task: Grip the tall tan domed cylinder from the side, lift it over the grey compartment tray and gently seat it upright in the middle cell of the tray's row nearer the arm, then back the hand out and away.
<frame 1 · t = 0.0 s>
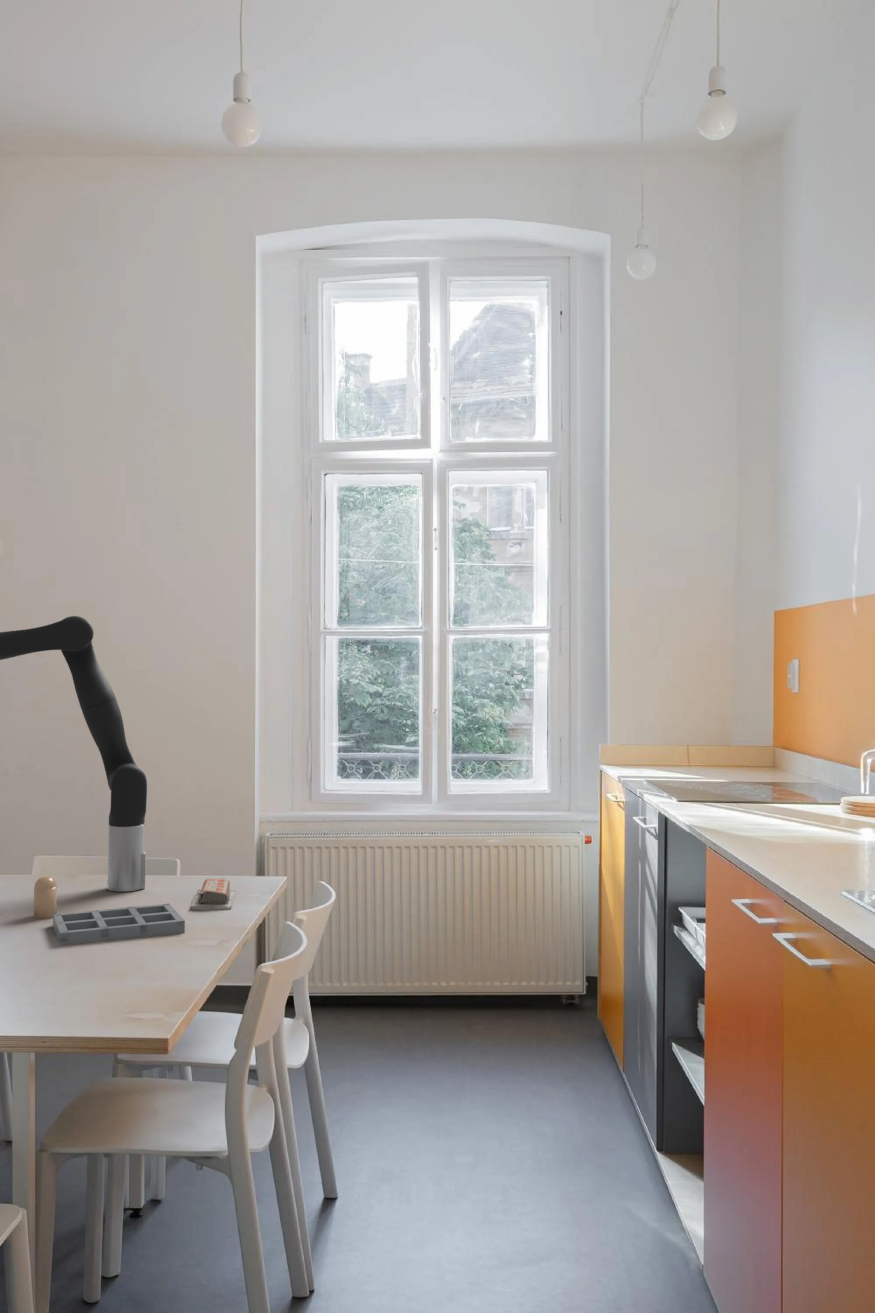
grey compartment tray: (118, 929, 223), on the table
packaged product: (213, 904, 250), on the table
tan domed cylinder: (44, 916, 234), on the table
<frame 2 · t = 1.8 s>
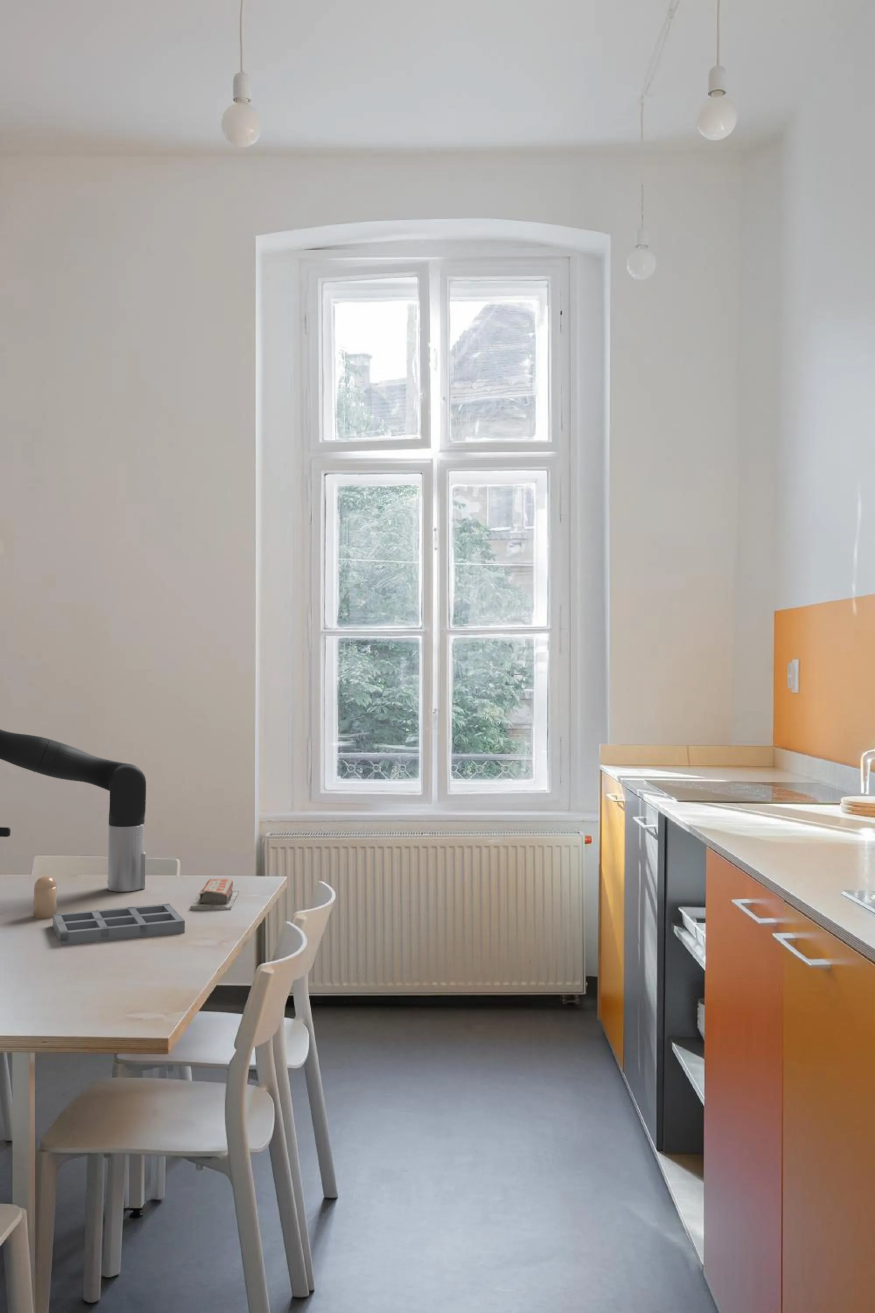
hand: (0, 835, 235), 19 cm above the table, tool horizontal, fingers open, 8 cm apart
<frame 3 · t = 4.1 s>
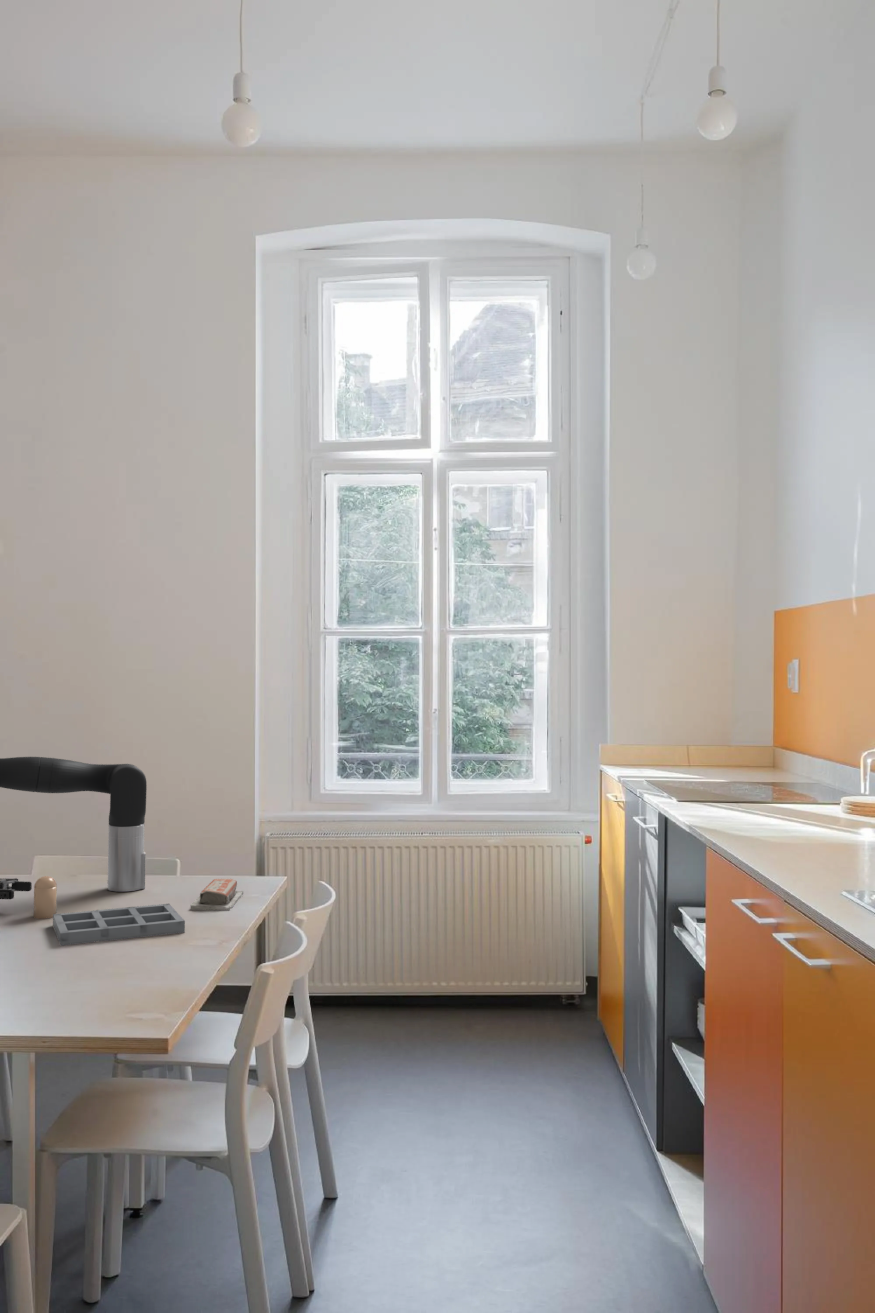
hand: (22, 890, 234), 6 cm above the table, tool horizontal, fingers open, 8 cm apart
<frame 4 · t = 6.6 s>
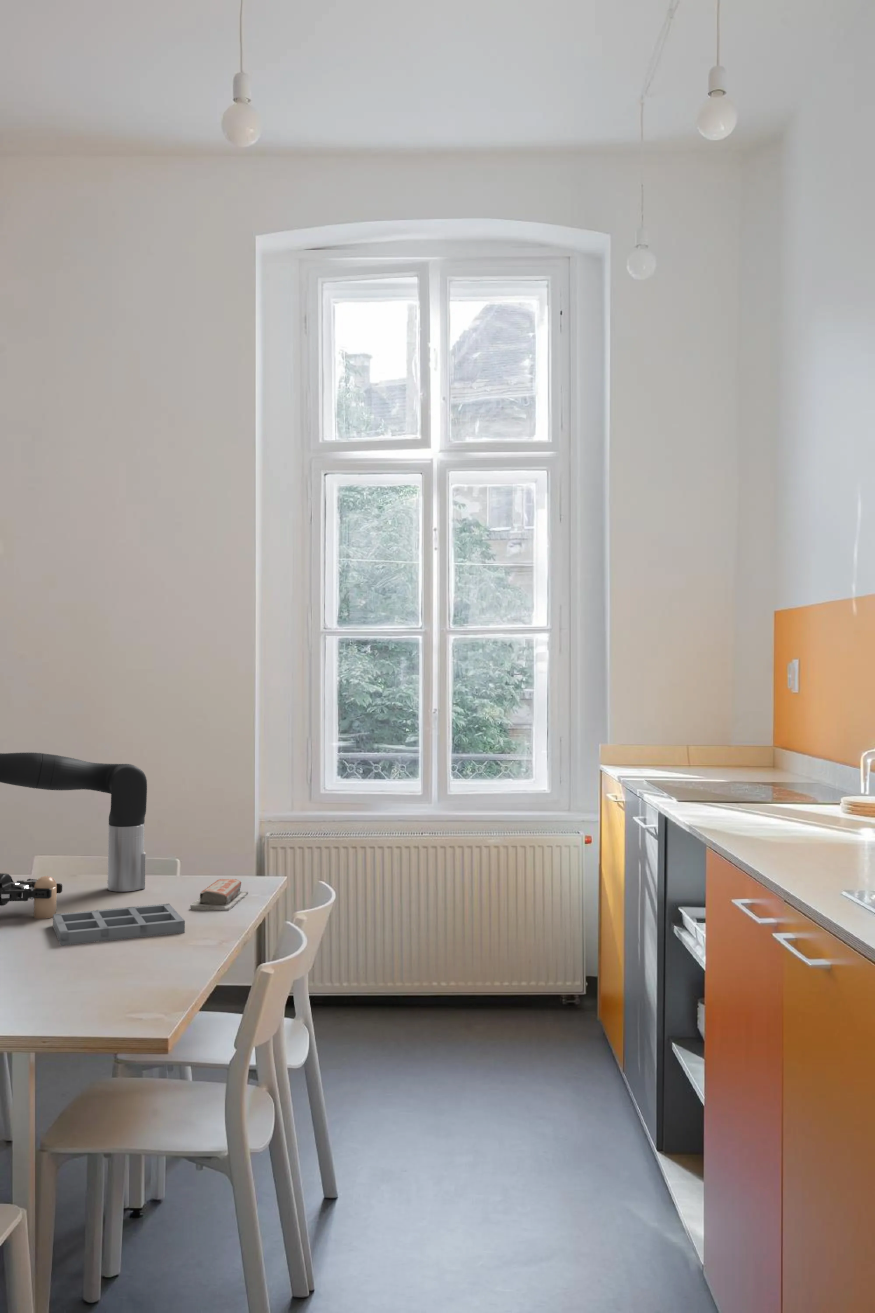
hand: (56, 891, 234), 6 cm above the table, tool horizontal, fingers closed on tan domed cylinder, 5 cm apart
tan domed cylinder: (45, 916, 234), on the table, touching gripper
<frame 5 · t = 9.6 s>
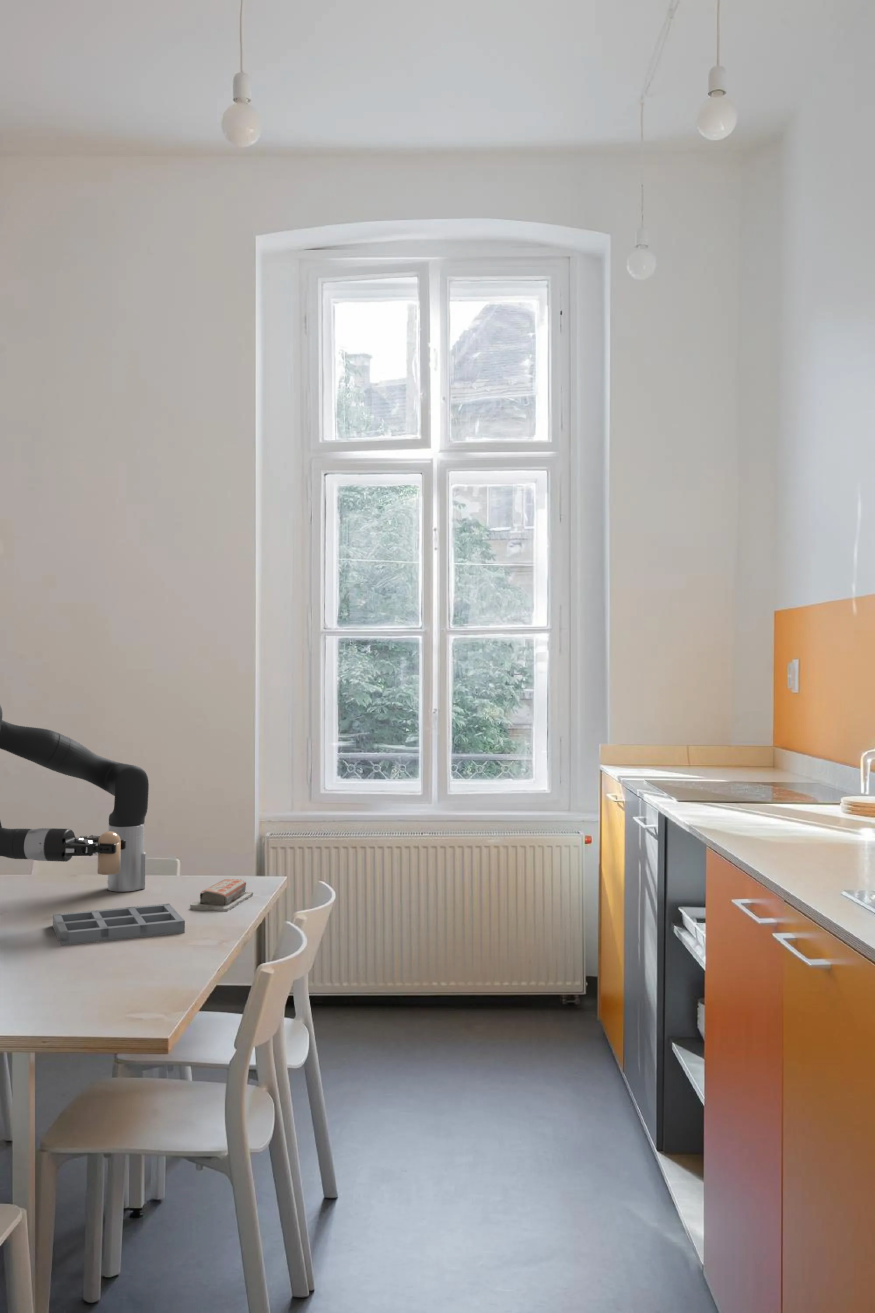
hand: (120, 846, 227), 18 cm above the table, tool horizontal, fingers closed on tan domed cylinder, 5 cm apart
tan domed cylinder: (108, 872, 227), point 12 cm above the table, touching gripper
when the fingers open (8 cm above the table, at t = 13.0 s): tan domed cylinder drops 1 cm, resting on grey compartment tray.
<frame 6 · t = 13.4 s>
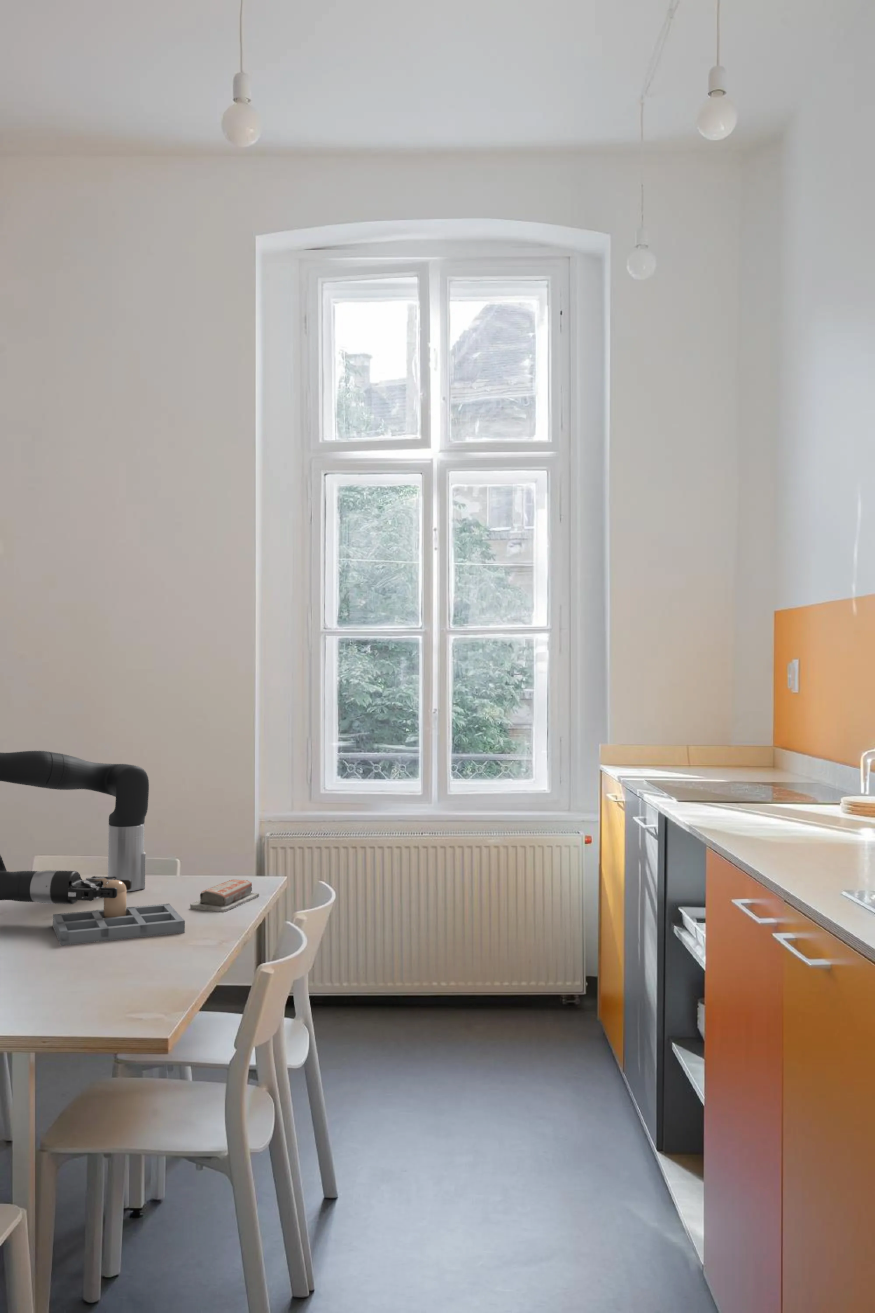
hand: (124, 888, 226), 8 cm above the table, tool horizontal, fingers open, 8 cm apart
tan domed cylinder: (114, 921, 226), point 1 cm above the table, touching grey compartment tray
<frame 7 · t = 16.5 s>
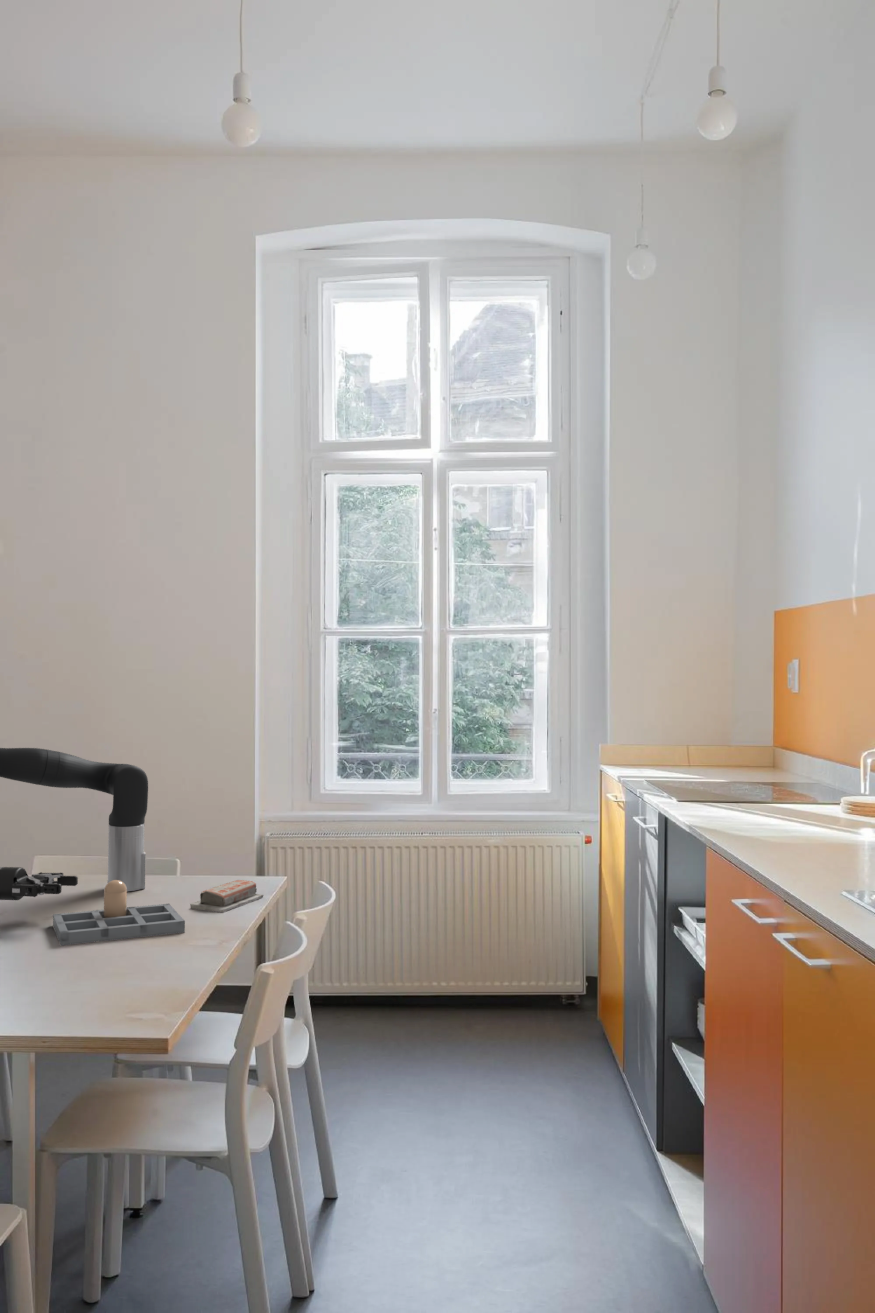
hand: (69, 885, 228), 9 cm above the table, tool horizontal, fingers open, 8 cm apart
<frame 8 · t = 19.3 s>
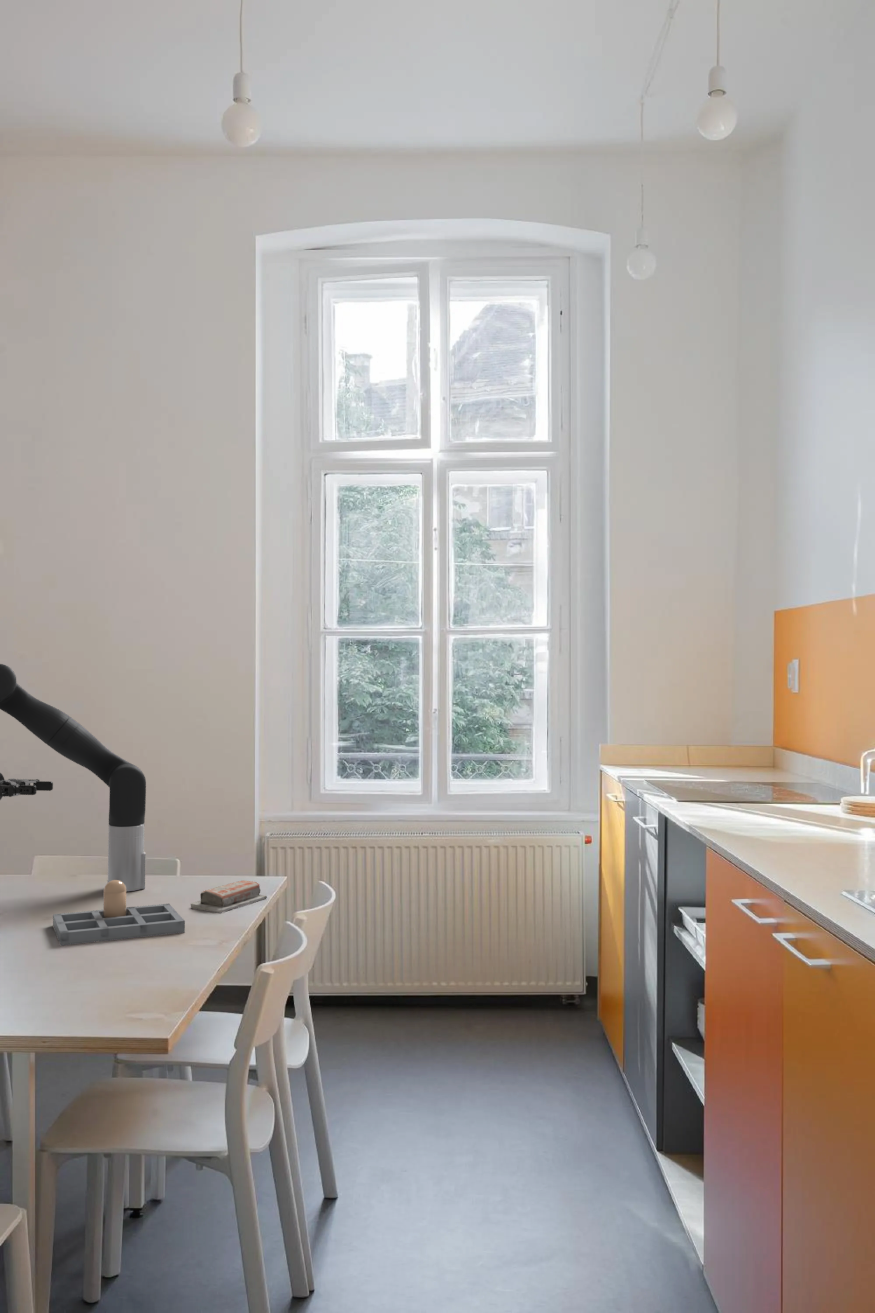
hand: (44, 788, 238), 30 cm above the table, tool horizontal, fingers open, 8 cm apart
at the end: tan domed cylinder 0.2 cm from the target spot on the grey compartment tray, point 0.8 cm above the grey compartment tray's base; tan domed cylinder tilted 1°; the gripper is holding nothing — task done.
